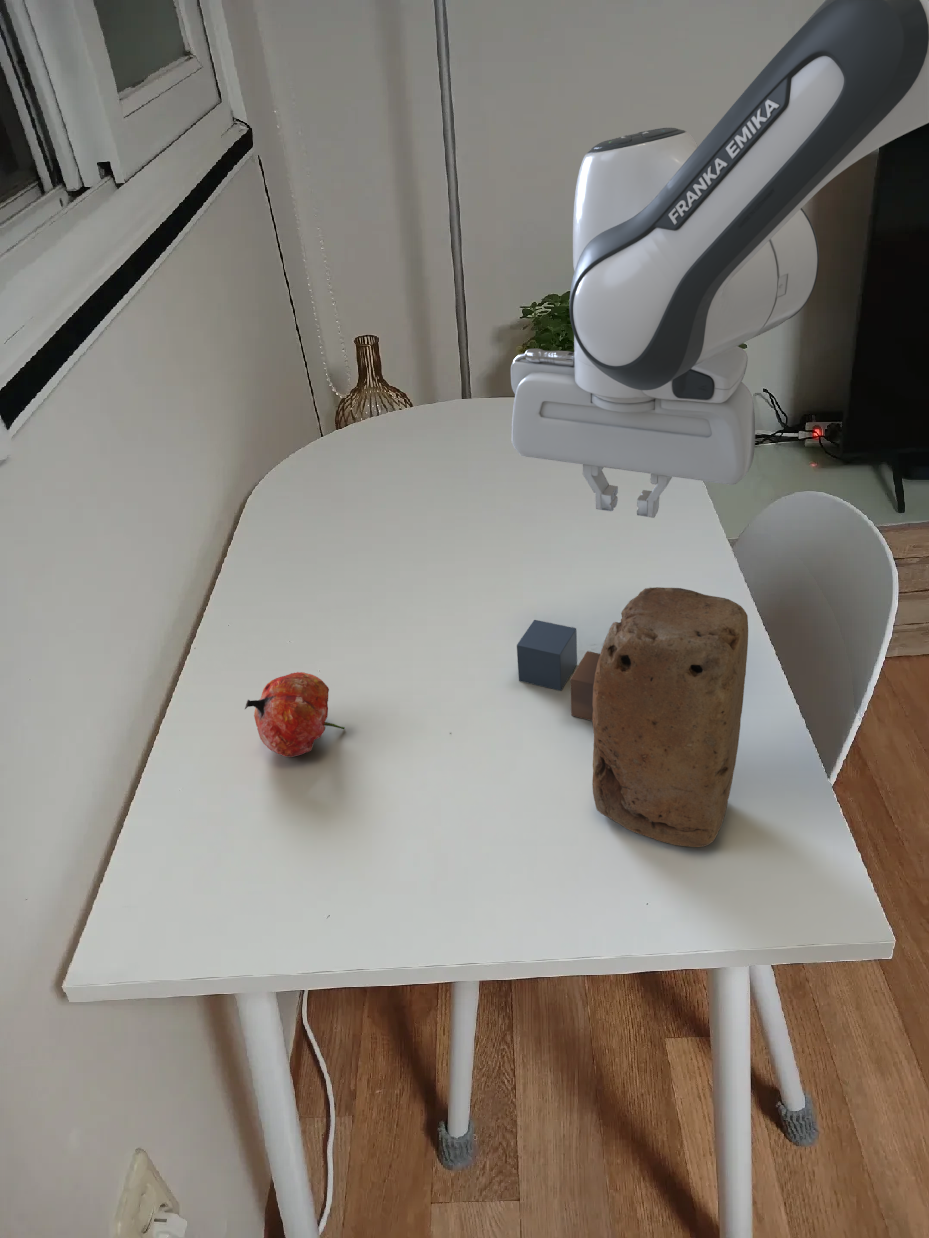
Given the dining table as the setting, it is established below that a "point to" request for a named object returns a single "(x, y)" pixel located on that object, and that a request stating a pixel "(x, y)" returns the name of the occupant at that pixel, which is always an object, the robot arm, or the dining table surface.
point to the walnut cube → (584, 686)
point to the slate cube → (547, 654)
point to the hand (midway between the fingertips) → (627, 510)
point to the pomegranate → (292, 713)
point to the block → (669, 714)
